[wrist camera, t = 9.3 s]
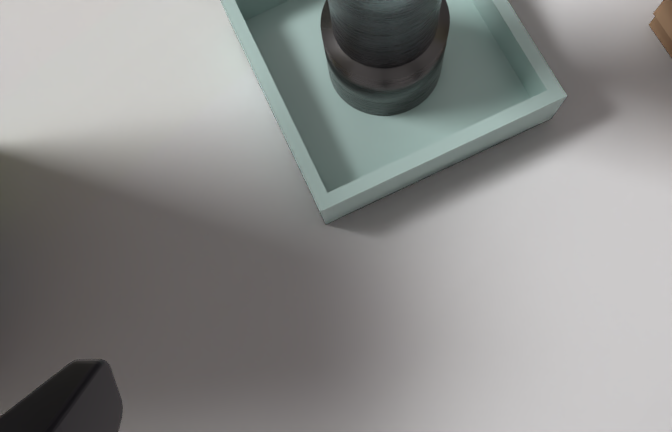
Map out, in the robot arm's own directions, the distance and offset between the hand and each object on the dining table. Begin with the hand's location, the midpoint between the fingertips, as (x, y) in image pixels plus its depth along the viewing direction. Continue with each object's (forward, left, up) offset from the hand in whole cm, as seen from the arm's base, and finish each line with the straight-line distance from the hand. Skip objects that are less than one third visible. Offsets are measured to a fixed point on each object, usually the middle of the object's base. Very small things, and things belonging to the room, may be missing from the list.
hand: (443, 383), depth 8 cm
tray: (+11, -4, -14) cm, 18 cm away
